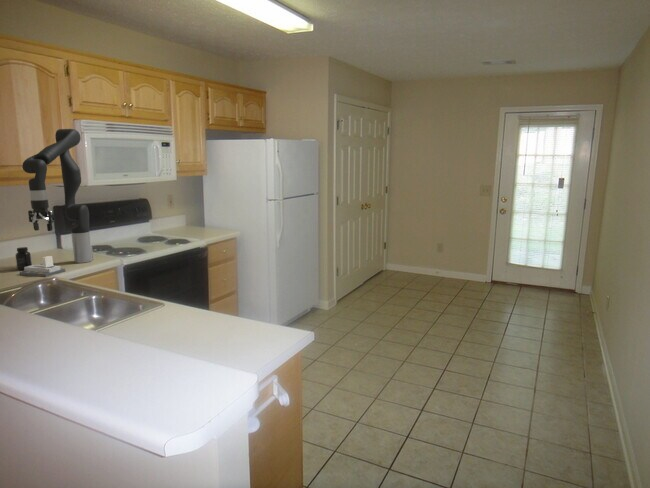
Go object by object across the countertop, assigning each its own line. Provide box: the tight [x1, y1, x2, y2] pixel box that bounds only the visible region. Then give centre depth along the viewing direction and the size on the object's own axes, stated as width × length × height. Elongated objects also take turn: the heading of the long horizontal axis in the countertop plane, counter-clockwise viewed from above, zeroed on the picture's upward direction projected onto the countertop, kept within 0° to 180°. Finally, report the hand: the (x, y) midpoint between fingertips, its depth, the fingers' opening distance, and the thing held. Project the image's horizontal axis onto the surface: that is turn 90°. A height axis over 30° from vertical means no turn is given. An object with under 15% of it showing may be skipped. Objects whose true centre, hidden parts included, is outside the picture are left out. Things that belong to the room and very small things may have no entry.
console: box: [19, 264, 66, 278], centre depth 234 cm, size 12×17×4 cm
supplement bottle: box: [15, 246, 33, 271], centre depth 243 cm, size 7×7×12 cm
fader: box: [41, 255, 54, 268], centre depth 232 cm, size 4×4×8 cm
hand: (43, 230), depth 231 cm, fingers open, 8 cm apart
